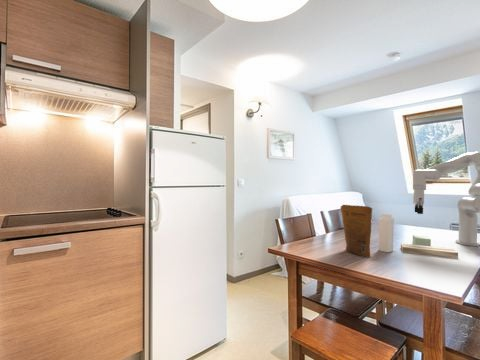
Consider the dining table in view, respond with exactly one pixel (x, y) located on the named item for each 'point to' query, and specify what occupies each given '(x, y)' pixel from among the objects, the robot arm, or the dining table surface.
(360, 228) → the pancake mix bag
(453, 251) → the board
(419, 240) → the block
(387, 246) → the milk
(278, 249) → the dining table surface
